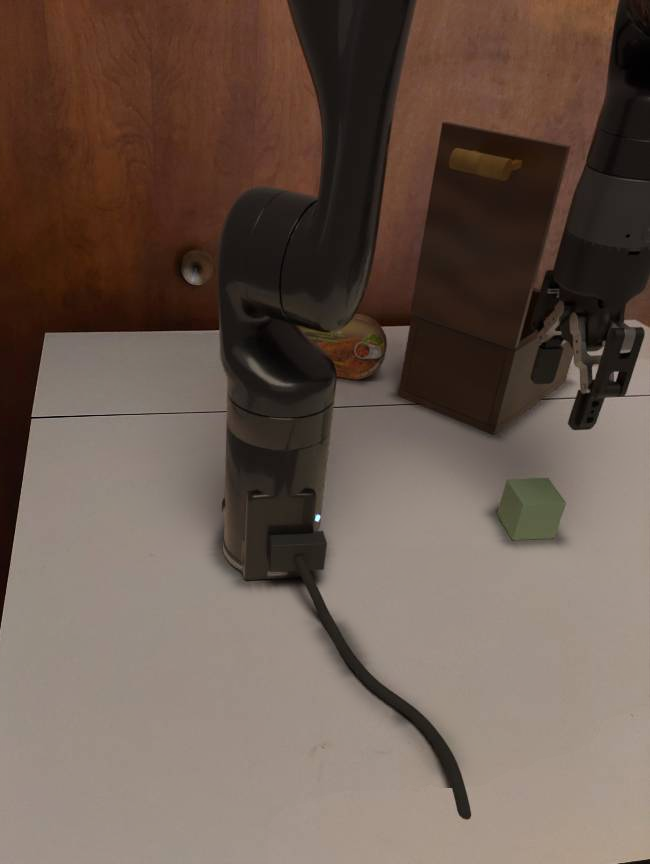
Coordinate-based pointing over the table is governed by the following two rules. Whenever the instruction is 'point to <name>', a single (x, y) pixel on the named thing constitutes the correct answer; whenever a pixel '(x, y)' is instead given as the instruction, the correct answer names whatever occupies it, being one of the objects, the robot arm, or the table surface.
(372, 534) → the table surface
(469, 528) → the table surface
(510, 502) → the block
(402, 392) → the chest
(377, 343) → the tin
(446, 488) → the table surface
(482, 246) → the lid
